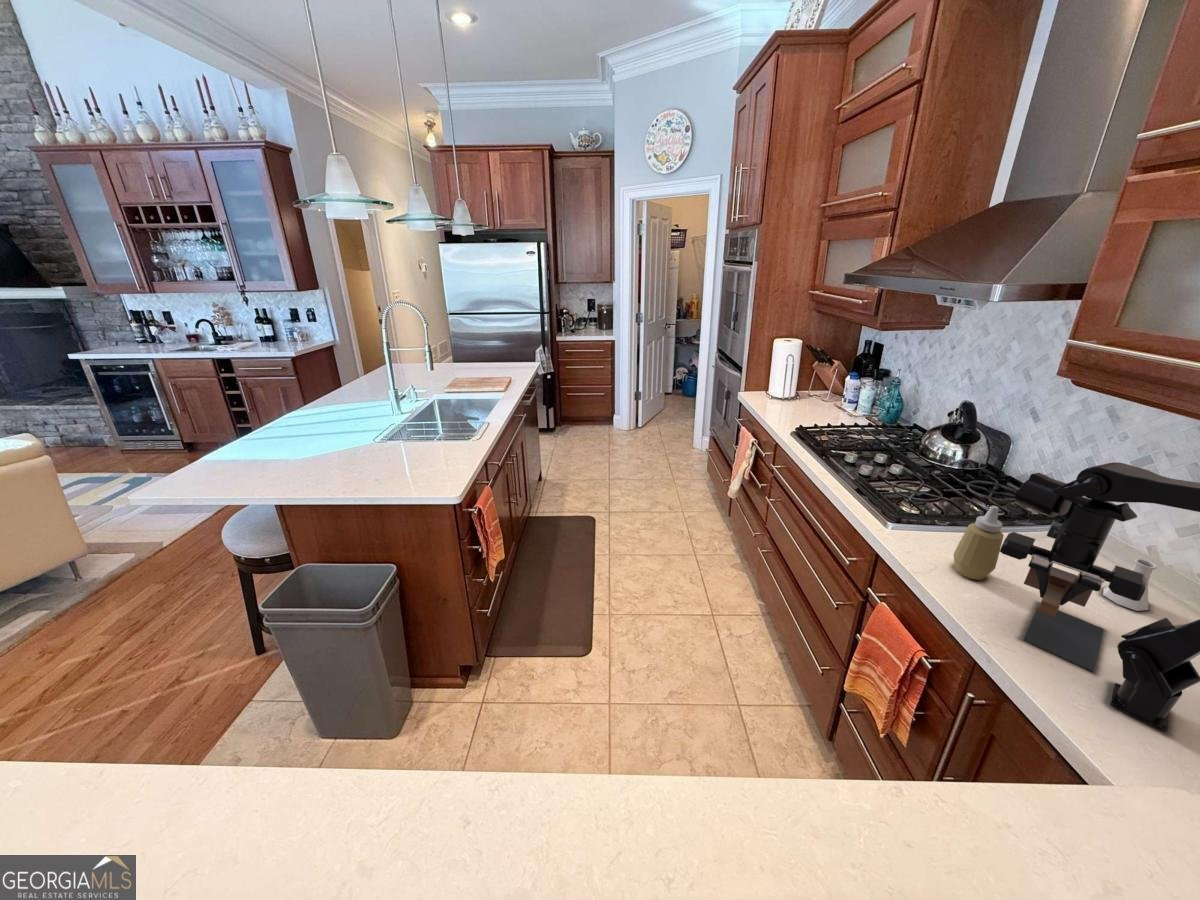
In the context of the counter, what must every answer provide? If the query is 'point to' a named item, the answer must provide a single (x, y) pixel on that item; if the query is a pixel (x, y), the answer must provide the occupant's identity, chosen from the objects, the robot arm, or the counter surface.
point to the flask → (1146, 569)
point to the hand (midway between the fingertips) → (1051, 600)
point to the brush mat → (1066, 637)
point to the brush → (1055, 590)
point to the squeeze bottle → (979, 546)
